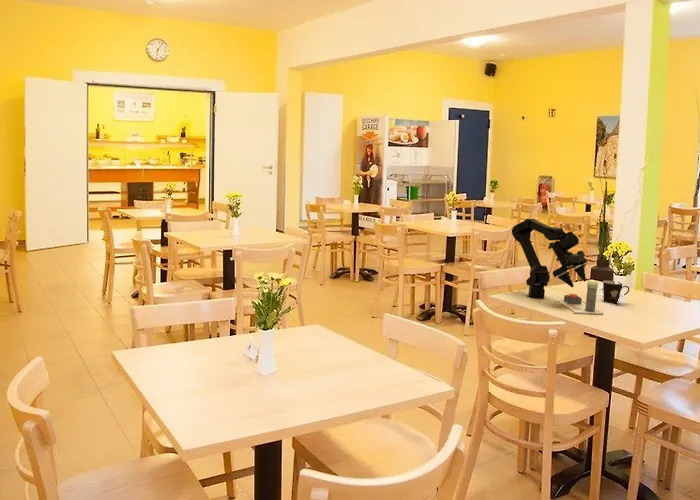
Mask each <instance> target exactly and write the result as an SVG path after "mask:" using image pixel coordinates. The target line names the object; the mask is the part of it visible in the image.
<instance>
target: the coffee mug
mask: <svg viewBox="0 0 700 500" xmlns="http://www.w3.org/2000/svg"><path fill="white" fill-rule="evenodd" d="M617 282H618V283H619V284H615V280H603V282H602V284H603V285H602V287H603V289H602V291H603V297H602V298H603V303H608V304H612V305H614V304H617V302H618V303H619V301H618V299H619V300H620V298H619V297H620V296H621V292H622V289H623V288H627V291H626V292H625V293H624V296H625V295H627V294H628V293H630V287H629V286H627V285H623V283H622V282H621V281H617ZM622 286H623V287H622ZM617 305H618V304H617Z"/></svg>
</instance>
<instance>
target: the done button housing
mask: <svg viewBox="0 0 700 500" xmlns="http://www.w3.org/2000/svg"><path fill="white" fill-rule="evenodd" d="M563 301H564V302H566V303H568V304H581V302H583V301H582V297H580V296H579V295H577V298H570V297H569V294H564V295H563Z"/></svg>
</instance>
